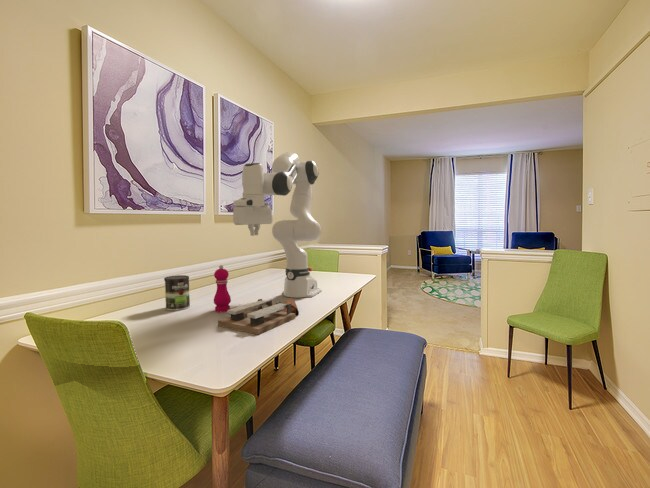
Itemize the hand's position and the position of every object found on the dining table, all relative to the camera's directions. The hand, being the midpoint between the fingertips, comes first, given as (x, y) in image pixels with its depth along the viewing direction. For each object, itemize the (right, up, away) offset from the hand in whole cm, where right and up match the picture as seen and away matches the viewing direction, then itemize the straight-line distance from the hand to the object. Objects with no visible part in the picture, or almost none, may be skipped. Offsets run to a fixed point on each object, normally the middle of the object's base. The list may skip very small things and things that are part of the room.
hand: (254, 235), depth 143 cm
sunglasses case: (+13, -33, +6) cm, 36 cm away
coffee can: (-37, -33, +12) cm, 51 cm away
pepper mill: (-16, -33, +8) cm, 37 cm away
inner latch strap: (-1, -29, -7) cm, 30 cm away
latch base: (+3, -34, -9) cm, 35 cm away
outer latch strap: (+8, -30, -12) cm, 33 cm away
